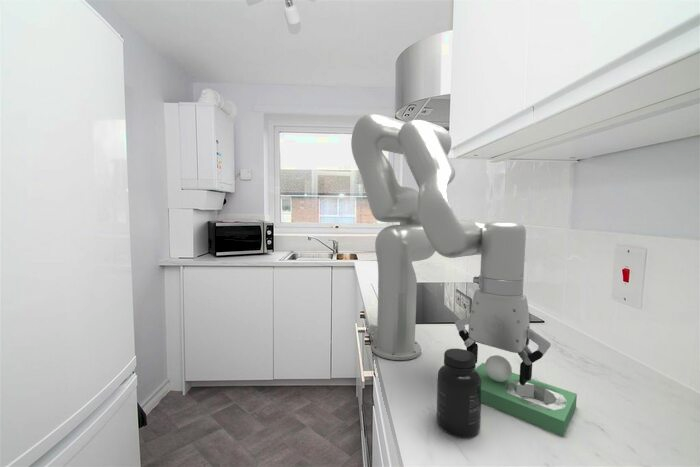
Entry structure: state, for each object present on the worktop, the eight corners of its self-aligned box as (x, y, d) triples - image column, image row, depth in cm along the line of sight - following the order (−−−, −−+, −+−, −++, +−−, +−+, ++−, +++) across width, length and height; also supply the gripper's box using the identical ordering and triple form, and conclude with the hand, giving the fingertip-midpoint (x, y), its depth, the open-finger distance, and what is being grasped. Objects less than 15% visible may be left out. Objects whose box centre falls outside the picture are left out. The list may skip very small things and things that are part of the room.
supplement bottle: (469, 412, 57) (472, 345, 56) (487, 439, 50) (491, 364, 50) (431, 412, 57) (433, 345, 56) (443, 439, 50) (446, 363, 49)
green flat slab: (459, 393, 63) (460, 381, 63) (482, 373, 71) (482, 362, 71) (563, 436, 51) (564, 421, 51) (575, 407, 59) (576, 393, 59)
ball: (480, 380, 63) (481, 356, 63) (489, 371, 67) (490, 349, 66) (506, 389, 60) (507, 364, 60) (514, 380, 63) (516, 356, 63)
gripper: (449, 282, 65) (446, 364, 67) (547, 298, 54) (542, 399, 55) (465, 277, 71) (462, 353, 72) (557, 291, 59) (552, 382, 60)
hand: (496, 373), depth 63 cm, fingers open, 9 cm apart
